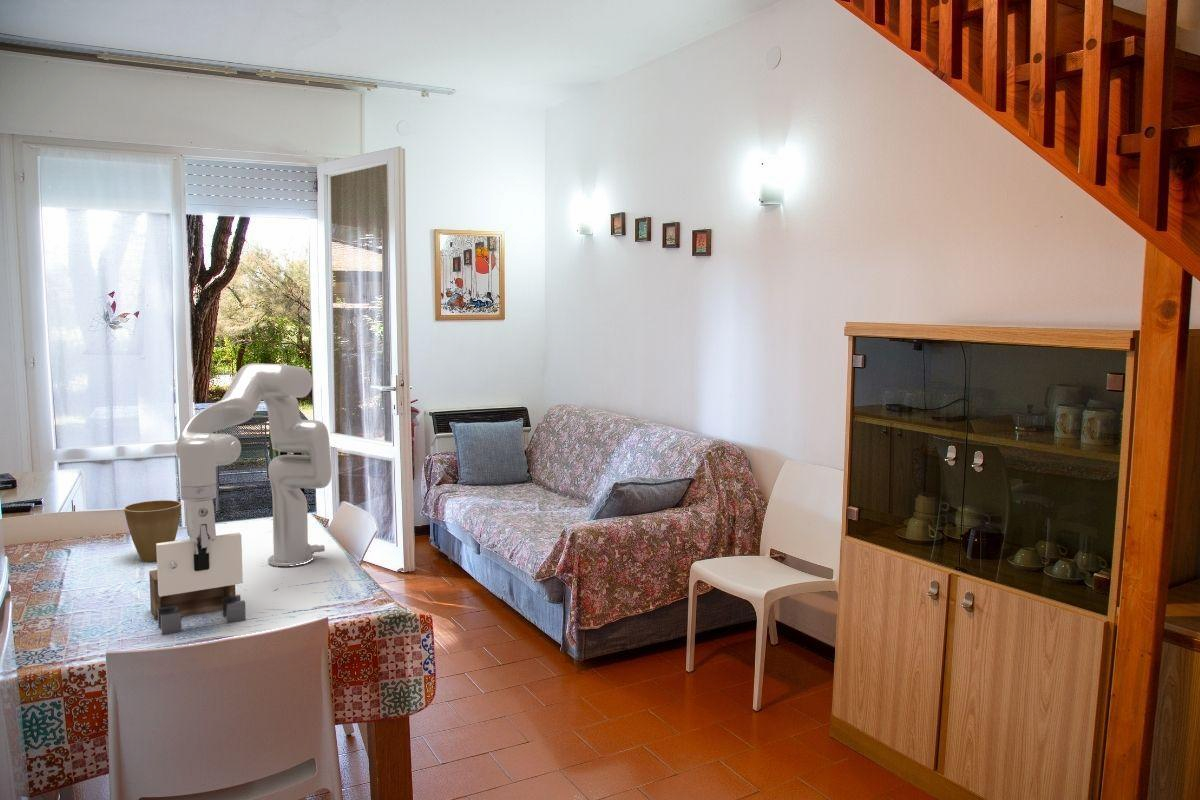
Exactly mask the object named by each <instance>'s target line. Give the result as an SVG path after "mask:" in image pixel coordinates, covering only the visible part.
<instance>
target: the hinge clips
mask: <svg viewBox="0 0 1200 800" xmlns="http://www.w3.org/2000/svg"><path fill="white" fill-rule="evenodd" d="M221 610H222V614H221V615H222V617H226V623H227V624H230V623H236V622H241V621H246V620H247V619H246V601H245V600H244V599H243V600H241V595H240V594H236V595H234V596H228V597H222V609H221ZM157 627H158V629H161V630H160V631H161V633H160V634H161V635H162V636H163V635H164V636H165V635H169V634H170V635H171V634H173V633H180V632H182V616H181V612H180V611H178V610H177V605H172V606H166V607H160V608H158V620H157Z"/></svg>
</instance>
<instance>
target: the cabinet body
mask: <svg viewBox="0 0 1200 800" xmlns="http://www.w3.org/2000/svg"><path fill="white" fill-rule="evenodd" d="M148 571H149V572H148V574H149V595H150V596H149V598H150V600H149V602H150V611H151V613H152V616H153V618H154V620H155V621H158V608H160V607H166V606H172V605H177V610H178V611H180V612H181V617H185V616H190V615H197V614H202V613H203V614H204V613H209V612H214V611H219V610H222V597H228V596H234V595H237V594H236V585H229V586H223V587H217V588H211V589H204V590H198V591H192V592H186V593H179V594H173V595H167V596H161V597H159V595H158V575H157V569H151V570H148Z"/></svg>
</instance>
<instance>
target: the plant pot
mask: <svg viewBox="0 0 1200 800" xmlns="http://www.w3.org/2000/svg"><path fill="white" fill-rule="evenodd" d="M181 510H182V502H181V501H178V500H168V499H166V500H165V499H164V500H163V499H160V500H149V501H141V502H136V503H135V502H134V503H132V504H128V505H126V506H124V508H123V511H124V515H125V519H126V523H127V527H128V530H129V535H130V537H131V540H132V542H133V545H134V547H135V550H136V551H137V554H138V556H139V558H140V560H141V561H142V562H148V563H151V562H157V551H156V543H163V542H171V541H176V537H177V533H178V528H179V524H180V519H181Z"/></svg>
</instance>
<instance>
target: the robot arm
mask: <svg viewBox="0 0 1200 800" xmlns="http://www.w3.org/2000/svg"><path fill="white" fill-rule="evenodd" d="M312 388H313V377H312V374H311V372H310V371H309V369H307V368H306V367H304V366H298V365H297V366H296V365H289V364H284V363H282V364H280V363H261V362H259V363H255V362H254V363H253V362H252V363H248V364H245V365H243V366H242V367H240V368H239V370H238V371H237V372H236V374H235V376H234V378H233V379H232V381H231V382H230V384H229V386H228V388H227V390H226V391H225V393H224V395H223V396H222V398H221V399H220V400H219V401H217V402H214V403H212V404H211V405H209V406H207V407H206V408H204V409H202V410H201V411H199V412H197V413H196V414H195V415H193V416H192V417H191V418H190V419H189V420H188V422H187V423H186V425H185V426H184V428H183V429H182V431H181V432H180V434H179V437H178V440H177V442H176V446H175V452H176V453H175V454H176V457H178V459H179V479H180V482H179V484H180V485H179V486H180V500H182V501H185V516H186V517H185V522H186V523H185V524H186V533H187V536H188V537H189V539H191V540H192V541H193V542H195V554H194V570H195V571H202V570H208V569H209V548H208V537H209V538H210V539H211V540H212V541H214V540H215V539H216V536H217V533H216V519H215V518H216V516H215V505H214V499H215V498H217V476H216V475H217V473H216V471H217V468H216V467H217V466H218V467H219V466H228V465H231V464H234V462H236V461H237V460H238V458H240V455H241V453H242V444H241V442H240V440H239V439H238V437H236V436H234V435H233V434H228V433H216V432H217V431H221V430H224V429H227V428H230V427H234V426H238V425H240V424H243V423H246V422H248V421H250V420H251V419H252V418H253V417H254V415H255V413H256V411H257V409H258V407H259V406H260V404H261V402H262V400H263V402H264V404H265V405H266V410H267V417H268V425H269V435H270V442H271V445H272V448H273V449H274V450H275V451H277V452H281V453H297V454H282V455H277V456H275V457H274V458H272V459H271V461H270V463H269V464H268V468H267V469H268V470H267V471H268V473H267V474H268V479H269V484H270V487H271V497H272V532H273V533H272V534H273V535H272V536H273V537H272V538H273V539H272V541H273V555H270V556H269V557H268V559H267V563H268V564H269V565H270V564H271V565H270V566H273V565H274V566H273V567H278V566H290V565H296V564H300V563H304V562H307V561H309V560H311V559H312V558H313V557H314V554H315V553H320V552H321V553H323V552H325V551H326V548H325V545H324V544H322V545H321V544H320V545H318V544H313V545H311V544H309V536H308V535H309V533H308V532H309V528H308V526H309V525H308V501H307V498H306V496H305V494H304V492H303V491H302V490H301V489H324V488H326V487H327V486H329V484H330V482H331V480H332V459H331V450H330V449H331V448H330V437H329V431H328V428H327V426H326V425H325V424H324V423H323V422H322V421H320V420H315V419H302V417H301V413H300V405H299V401H298V399H297V398H300V399H301V398H302V399H303V398H305V397H307V396H308V395H309V394H310V393H311V390H312ZM303 454H304V455H303ZM305 454H308V455H305ZM197 539H201V540H199V541H198V540H197ZM198 544H200V545H199V546H198Z"/></svg>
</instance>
